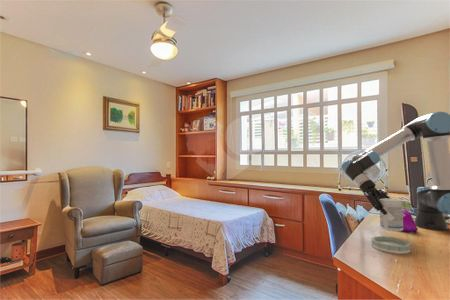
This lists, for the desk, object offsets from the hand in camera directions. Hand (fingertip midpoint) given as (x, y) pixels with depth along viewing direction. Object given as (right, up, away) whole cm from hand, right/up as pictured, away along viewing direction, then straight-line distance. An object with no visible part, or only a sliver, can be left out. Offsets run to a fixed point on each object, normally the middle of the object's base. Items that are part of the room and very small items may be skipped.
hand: (397, 218), depth 121 cm
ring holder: (-12, -10, -12) cm, 19 cm away
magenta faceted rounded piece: (+15, -11, +16) cm, 25 cm away
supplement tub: (-2, -6, +2) cm, 7 cm away
